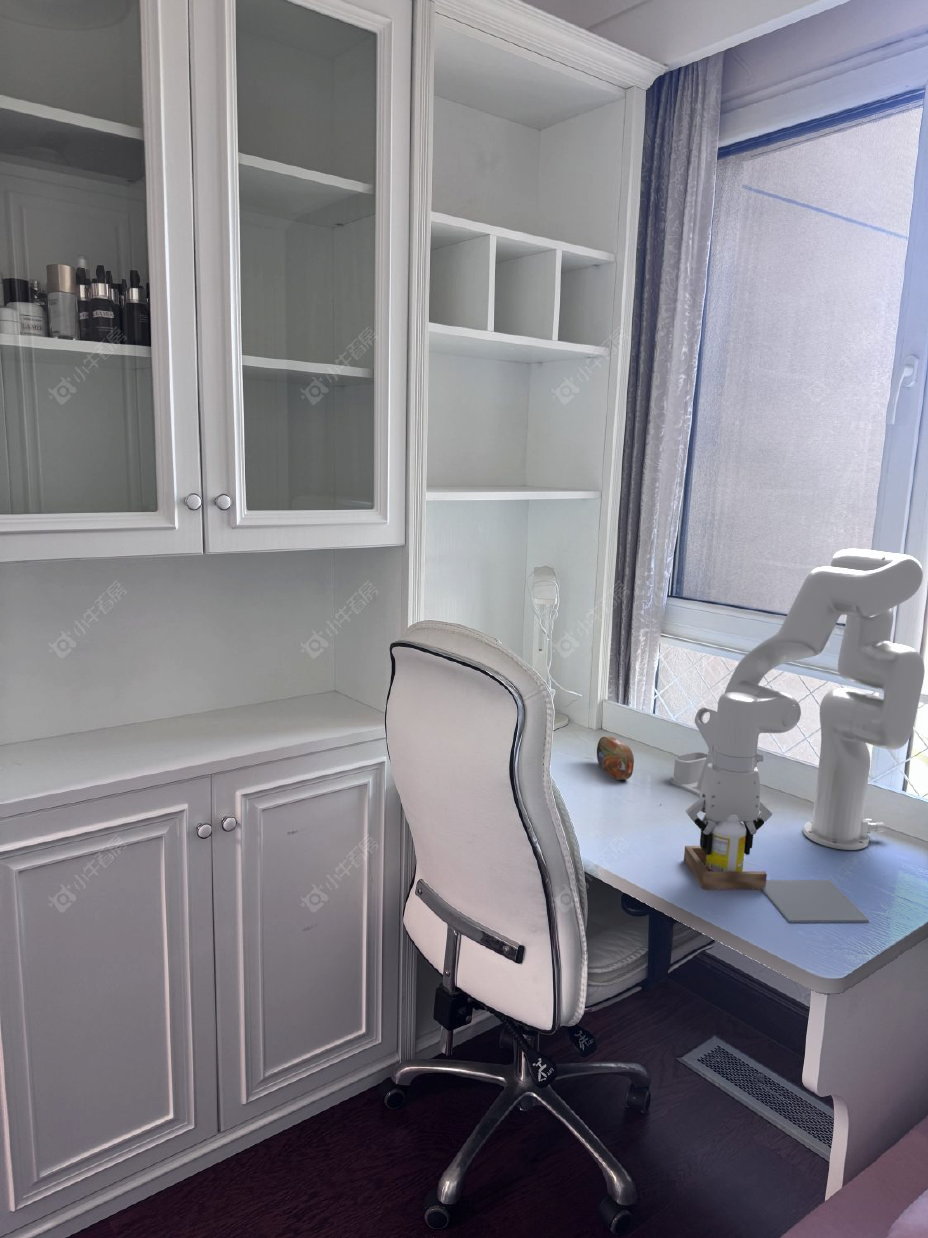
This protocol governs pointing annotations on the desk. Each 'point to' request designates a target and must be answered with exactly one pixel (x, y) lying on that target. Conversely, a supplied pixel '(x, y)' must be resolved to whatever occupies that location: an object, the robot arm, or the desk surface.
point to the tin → (615, 758)
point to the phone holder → (696, 756)
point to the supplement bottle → (727, 846)
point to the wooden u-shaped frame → (721, 873)
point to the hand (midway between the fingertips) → (725, 851)
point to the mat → (812, 901)
